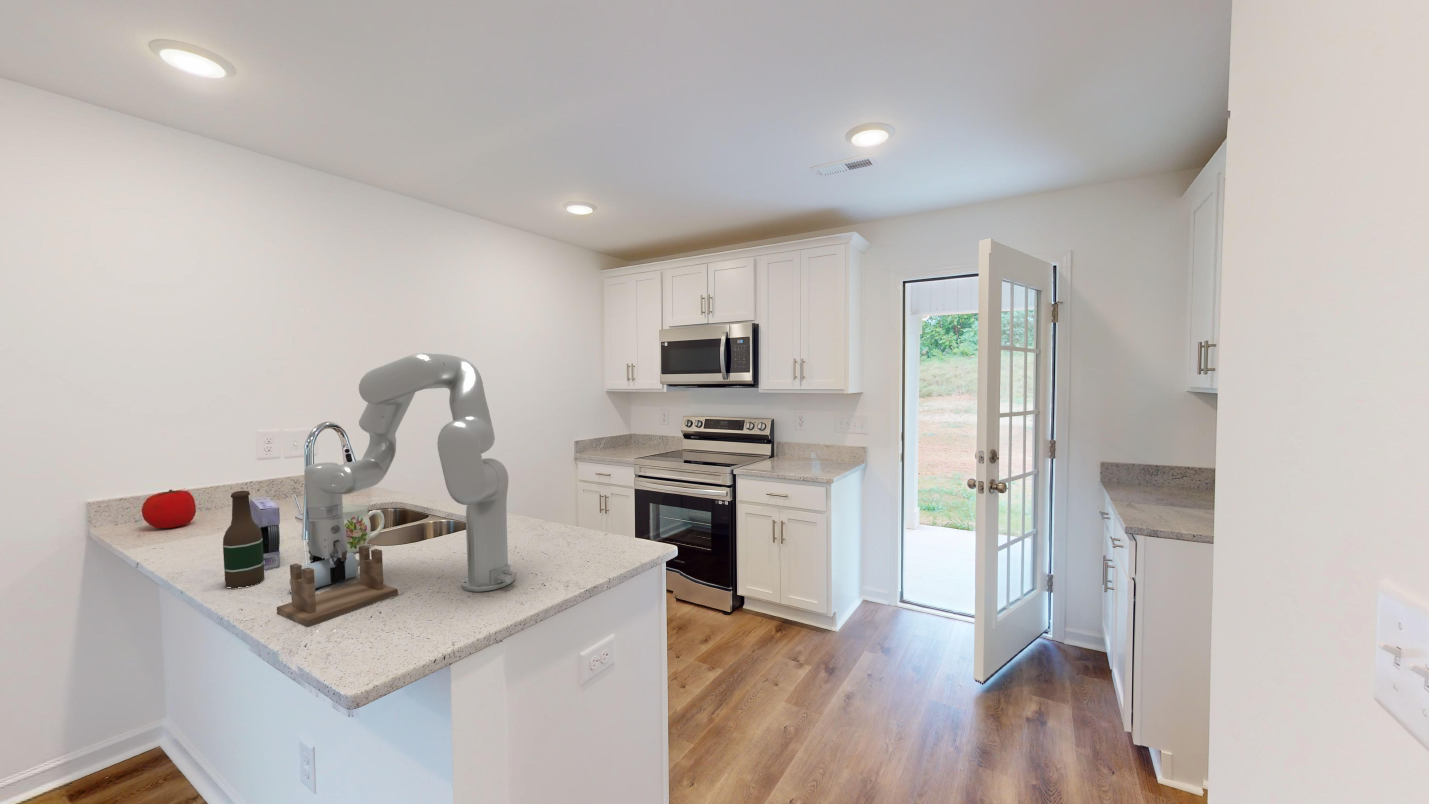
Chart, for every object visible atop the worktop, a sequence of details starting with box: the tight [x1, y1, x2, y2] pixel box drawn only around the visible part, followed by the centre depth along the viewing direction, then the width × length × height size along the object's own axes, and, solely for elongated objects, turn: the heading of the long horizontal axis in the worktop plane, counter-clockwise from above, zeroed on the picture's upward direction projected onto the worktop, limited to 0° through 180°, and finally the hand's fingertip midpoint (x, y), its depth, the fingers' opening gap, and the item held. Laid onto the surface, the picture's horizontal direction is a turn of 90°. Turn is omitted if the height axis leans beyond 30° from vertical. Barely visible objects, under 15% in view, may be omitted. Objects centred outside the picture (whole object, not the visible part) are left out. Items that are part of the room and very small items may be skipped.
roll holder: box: [276, 545, 399, 628], centre depth 126 cm, size 14×19×11 cm
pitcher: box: [342, 504, 385, 554], centre depth 165 cm, size 11×18×14 cm, turn 146°
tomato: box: [141, 488, 197, 529], centre depth 195 cm, size 16×14×14 cm
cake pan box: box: [249, 496, 281, 571], centre depth 155 cm, size 19×5×18 cm, turn 47°
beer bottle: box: [222, 490, 265, 588], centre depth 139 cm, size 8×8×24 cm
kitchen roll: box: [289, 553, 360, 590], centre depth 138 cm, size 6×15×6 cm, turn 150°
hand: (328, 578), depth 138 cm, fingers open, 9 cm apart
